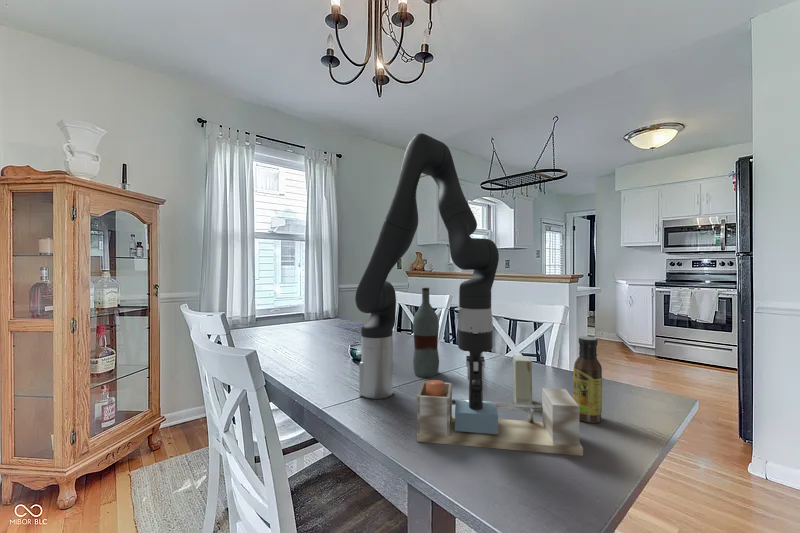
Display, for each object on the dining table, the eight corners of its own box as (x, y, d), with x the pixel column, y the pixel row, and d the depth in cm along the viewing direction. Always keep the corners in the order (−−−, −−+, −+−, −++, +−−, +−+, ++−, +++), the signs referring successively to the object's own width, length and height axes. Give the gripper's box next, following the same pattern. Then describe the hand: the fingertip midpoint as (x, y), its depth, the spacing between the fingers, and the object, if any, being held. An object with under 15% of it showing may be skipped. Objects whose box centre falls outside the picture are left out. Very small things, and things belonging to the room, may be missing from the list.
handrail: (452, 417, 85) (451, 400, 85) (452, 415, 86) (452, 398, 86) (542, 424, 81) (542, 406, 81) (541, 421, 82) (541, 404, 82)
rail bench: (416, 441, 76) (416, 397, 76) (423, 419, 87) (422, 380, 87) (583, 455, 70) (582, 407, 70) (567, 430, 81) (567, 388, 81)
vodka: (435, 378, 118) (434, 288, 118) (409, 376, 122) (408, 288, 122) (442, 371, 127) (441, 287, 127) (417, 368, 130) (417, 286, 130)
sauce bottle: (567, 413, 90) (567, 335, 90) (591, 412, 91) (590, 334, 91) (583, 425, 84) (582, 340, 84) (608, 423, 84) (607, 339, 84)
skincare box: (532, 407, 94) (532, 361, 94) (515, 406, 95) (515, 360, 95) (529, 399, 100) (528, 355, 100) (512, 397, 101) (512, 354, 101)
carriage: (455, 430, 77) (454, 384, 77) (456, 417, 84) (455, 374, 84) (498, 434, 75) (498, 386, 75) (495, 420, 82) (495, 376, 82)
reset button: (425, 403, 79) (425, 385, 79) (427, 396, 83) (427, 379, 83) (443, 404, 79) (443, 386, 79) (444, 397, 83) (444, 380, 83)
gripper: (458, 322, 87) (458, 388, 87) (457, 333, 73) (457, 412, 73) (490, 323, 86) (490, 390, 86) (494, 334, 72) (495, 415, 72)
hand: (475, 400), depth 79 cm, fingers open, 8 cm apart
